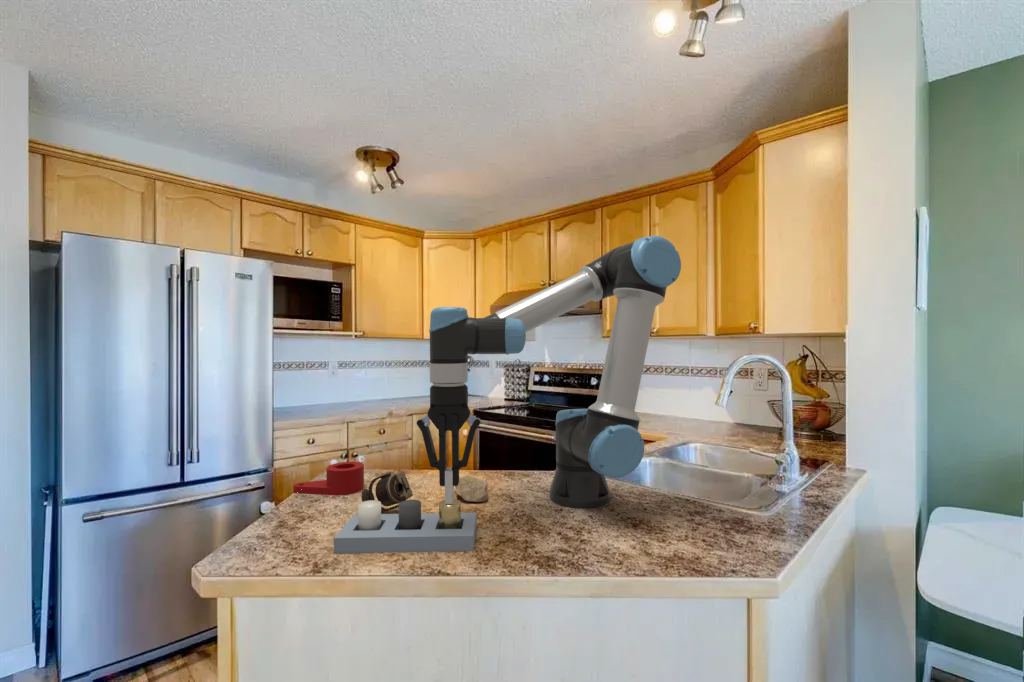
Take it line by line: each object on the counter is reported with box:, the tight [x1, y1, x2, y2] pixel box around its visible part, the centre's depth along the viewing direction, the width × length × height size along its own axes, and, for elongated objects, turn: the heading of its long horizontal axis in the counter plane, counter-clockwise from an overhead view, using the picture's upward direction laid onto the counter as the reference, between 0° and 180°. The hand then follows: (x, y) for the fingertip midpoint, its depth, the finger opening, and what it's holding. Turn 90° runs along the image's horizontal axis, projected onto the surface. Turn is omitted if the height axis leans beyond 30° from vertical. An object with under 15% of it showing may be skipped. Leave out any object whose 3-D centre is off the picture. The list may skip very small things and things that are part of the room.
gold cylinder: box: [438, 498, 462, 529], centre depth 94 cm, size 4×4×5 cm
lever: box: [292, 461, 365, 496], centre depth 125 cm, size 18×9×7 cm, turn 96°
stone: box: [454, 475, 489, 503], centre depth 119 cm, size 8×10×4 cm
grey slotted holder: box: [333, 512, 478, 554], centre depth 94 cm, size 26×12×3 cm, turn 91°
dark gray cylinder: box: [398, 499, 422, 530], centre depth 94 cm, size 4×4×5 cm
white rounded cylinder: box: [357, 499, 382, 531], centre depth 94 cm, size 4×4×5 cm
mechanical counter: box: [361, 470, 414, 512], centre depth 108 cm, size 7×13×10 cm, turn 78°
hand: (449, 501), depth 94 cm, fingers closed, pressing on gold cylinder
